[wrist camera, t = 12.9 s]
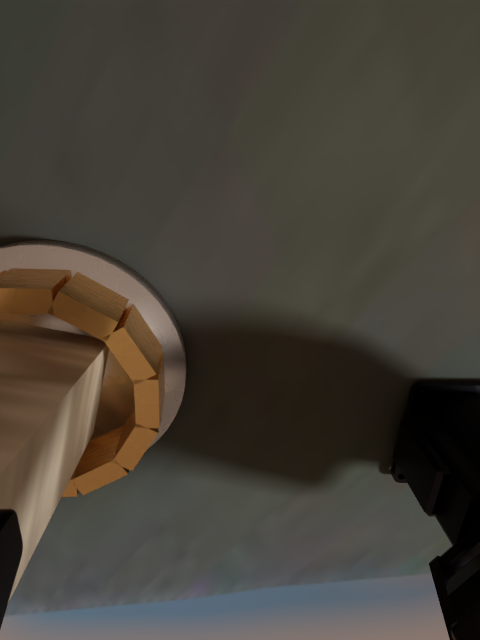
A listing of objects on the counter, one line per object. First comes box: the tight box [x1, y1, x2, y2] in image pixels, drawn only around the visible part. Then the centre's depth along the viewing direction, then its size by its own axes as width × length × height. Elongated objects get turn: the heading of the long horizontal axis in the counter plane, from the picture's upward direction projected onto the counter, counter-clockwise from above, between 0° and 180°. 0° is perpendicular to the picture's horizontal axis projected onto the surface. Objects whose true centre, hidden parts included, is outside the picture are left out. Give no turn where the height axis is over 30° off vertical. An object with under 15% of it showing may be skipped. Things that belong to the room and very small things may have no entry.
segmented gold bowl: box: [0, 240, 187, 497], centre depth 19 cm, size 12×12×4 cm
